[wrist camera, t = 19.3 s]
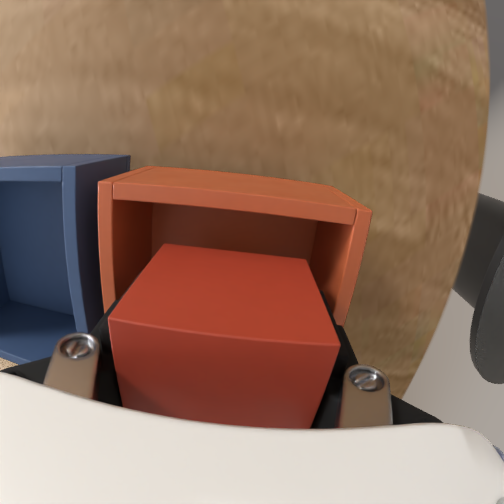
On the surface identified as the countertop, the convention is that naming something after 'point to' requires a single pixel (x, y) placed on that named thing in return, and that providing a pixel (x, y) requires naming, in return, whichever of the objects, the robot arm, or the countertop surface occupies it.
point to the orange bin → (229, 224)
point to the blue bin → (50, 249)
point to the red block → (224, 339)
